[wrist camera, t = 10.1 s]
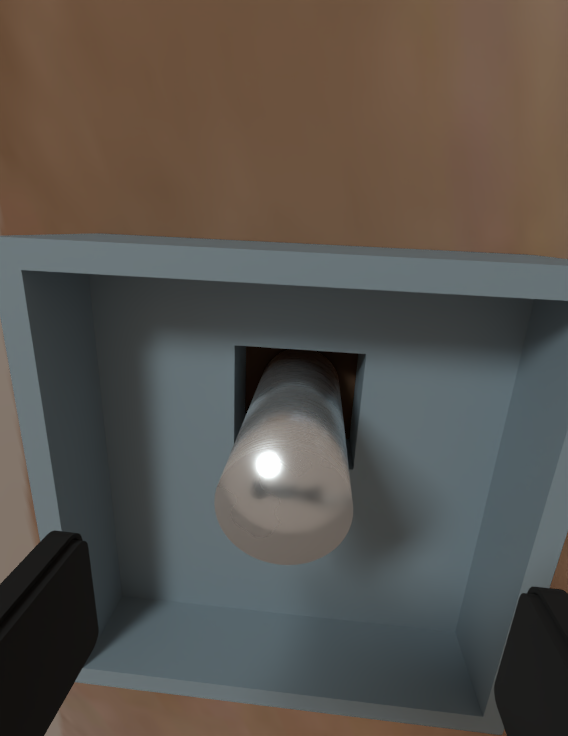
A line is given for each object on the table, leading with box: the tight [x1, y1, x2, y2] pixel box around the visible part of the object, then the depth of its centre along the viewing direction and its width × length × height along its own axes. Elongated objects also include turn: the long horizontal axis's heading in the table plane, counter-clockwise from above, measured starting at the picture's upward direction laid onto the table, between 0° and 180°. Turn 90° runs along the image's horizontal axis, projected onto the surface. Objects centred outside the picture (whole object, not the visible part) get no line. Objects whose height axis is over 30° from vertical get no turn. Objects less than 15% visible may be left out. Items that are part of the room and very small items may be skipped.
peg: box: [214, 349, 353, 565], centre depth 17 cm, size 4×4×10 cm
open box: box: [0, 234, 568, 735], centre depth 19 cm, size 20×20×7 cm
